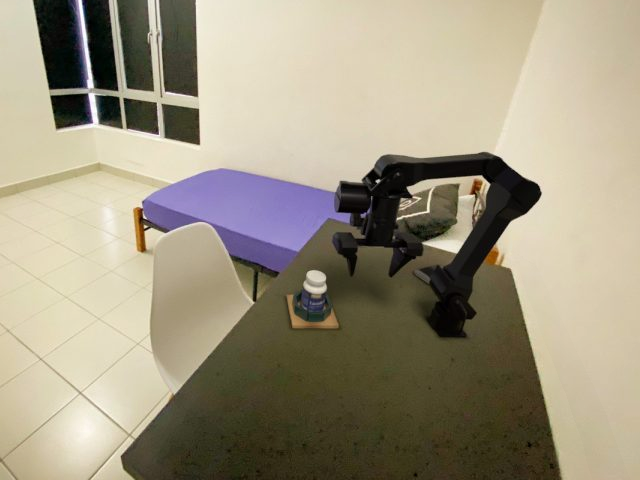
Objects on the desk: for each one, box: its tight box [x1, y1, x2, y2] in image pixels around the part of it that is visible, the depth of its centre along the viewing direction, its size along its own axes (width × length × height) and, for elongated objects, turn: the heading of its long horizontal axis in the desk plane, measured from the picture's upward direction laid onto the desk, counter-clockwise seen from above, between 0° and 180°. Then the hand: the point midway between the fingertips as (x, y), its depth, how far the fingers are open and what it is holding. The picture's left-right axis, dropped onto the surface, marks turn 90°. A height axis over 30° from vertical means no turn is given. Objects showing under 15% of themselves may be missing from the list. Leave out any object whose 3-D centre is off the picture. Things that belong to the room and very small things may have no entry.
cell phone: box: [414, 264, 444, 285], centre depth 100 cm, size 6×11×1 cm, turn 113°
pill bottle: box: [300, 269, 328, 312], centre depth 81 cm, size 6×6×10 cm
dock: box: [285, 288, 340, 329], centre depth 83 cm, size 11×11×4 cm
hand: (370, 276), depth 76 cm, fingers open, 9 cm apart
